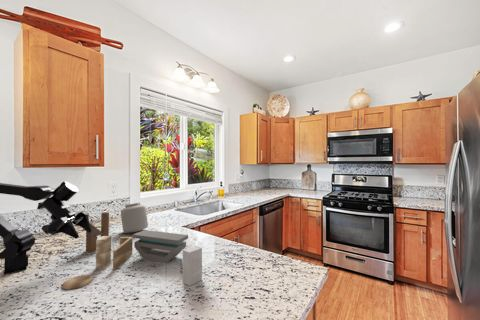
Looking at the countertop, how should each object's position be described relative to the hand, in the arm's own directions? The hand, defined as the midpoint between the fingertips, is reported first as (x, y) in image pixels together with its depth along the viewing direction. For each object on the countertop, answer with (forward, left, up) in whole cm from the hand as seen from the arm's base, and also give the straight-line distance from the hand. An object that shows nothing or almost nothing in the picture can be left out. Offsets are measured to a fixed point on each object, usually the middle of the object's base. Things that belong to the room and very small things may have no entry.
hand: (84, 234), depth 94 cm
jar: (+32, +38, -14) cm, 52 cm away
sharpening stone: (+27, -14, -14) cm, 34 cm away
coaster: (-4, -14, -13) cm, 20 cm away
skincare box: (+27, -42, -14) cm, 52 cm away
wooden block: (+9, +20, -14) cm, 26 cm away
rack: (+12, -4, -13) cm, 19 cm away
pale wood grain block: (+6, -5, -13) cm, 16 cm away
